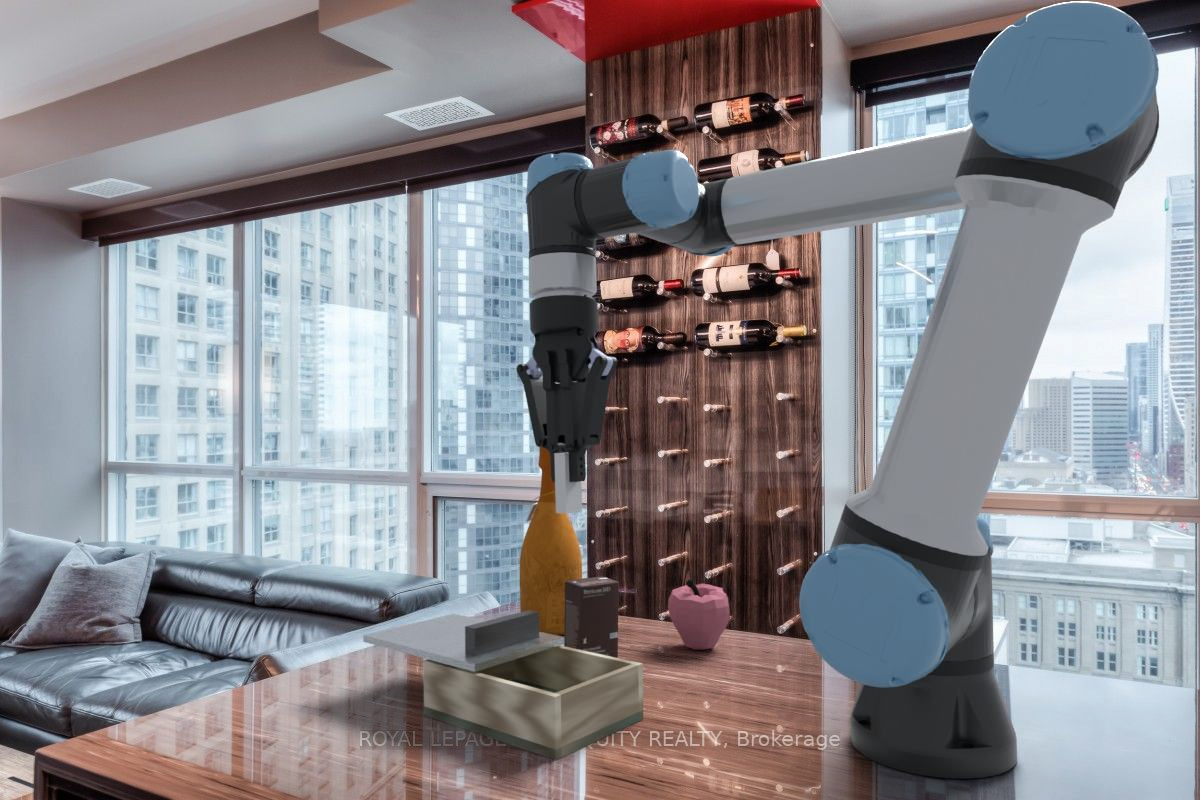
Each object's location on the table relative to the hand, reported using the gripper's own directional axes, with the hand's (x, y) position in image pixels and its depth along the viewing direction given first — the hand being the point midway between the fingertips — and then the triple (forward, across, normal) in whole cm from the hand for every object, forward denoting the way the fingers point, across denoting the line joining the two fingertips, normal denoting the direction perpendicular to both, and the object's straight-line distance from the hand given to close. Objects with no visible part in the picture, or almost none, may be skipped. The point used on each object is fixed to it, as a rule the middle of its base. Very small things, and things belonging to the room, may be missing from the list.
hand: (569, 511), depth 90 cm
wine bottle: (+22, +29, -28) cm, 46 cm away
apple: (+23, +5, -33) cm, 41 cm away
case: (+23, +4, +2) cm, 23 cm away
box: (+23, +9, -14) cm, 28 cm away
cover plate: (+16, +16, +2) cm, 23 cm away
